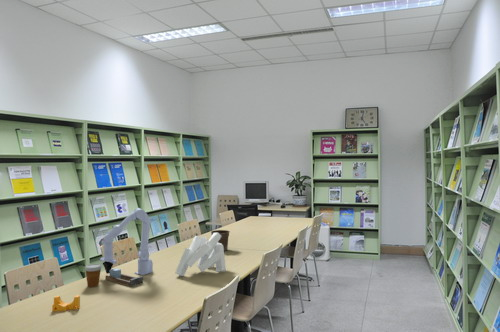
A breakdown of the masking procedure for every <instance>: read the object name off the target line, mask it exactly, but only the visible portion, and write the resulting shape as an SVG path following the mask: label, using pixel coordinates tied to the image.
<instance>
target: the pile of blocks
mask: <svg viewBox="0 0 500 332" xmlns="http://www.w3.org/2000/svg"><path fill="white" fill-rule="evenodd" d="M220 238H221V235H220V234H219V233H218V232H216V233H213V234H211V236H210V238H209V239H208V238H207V237H206V236H205V235H203V236H202V237H201V236H198V235H194V237H193V240H192V242H191V243H190V246H189V248H188V247H185V248H184V251H183V252H182V253H183V254H182V255H181V257H180V260H179V263H178V265H177V268H176V269H175V273H174V274H175V275H178V276H181V277H184V276H185V275H186V272H187V270H188V267H189V268H191V267H193V265H195V264H196V263H197V265H196V267H197V268H198V270H199V271H200V272H201V273H203V272H205V271H206V270H207V269H208V268H214V267H215V271H216V273H222V272H226V271H227V268H226V267H227V266H226V259H225V251H224V248H223V245H222V244H221V243H218V241H219V240H220ZM197 261H198V262H197Z"/></svg>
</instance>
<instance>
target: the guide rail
mask: <svg viewBox="0 0 500 332" xmlns="http://www.w3.org/2000/svg"><path fill="white" fill-rule="evenodd" d="M104 277H105V280H106V281H109V282H113V283H116V284H121V285H123V286H129V287H135V286H138V285H141V284H143V283H144V275H140V276H138V277H136V276H132V275H129V274H124V273H121V279H119V278H115V277H111V276H110V275H105V276H104Z"/></svg>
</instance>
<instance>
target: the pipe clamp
mask: <svg viewBox="0 0 500 332" xmlns="http://www.w3.org/2000/svg"><path fill="white" fill-rule="evenodd" d="M51 307H52V312H65V311H67V310H79V309H80V308H81V295H80V294H78V295H75V296H74V297H73V301H72V302H69V303H68V302H64V301H63V300H62V299H61V295H55V296H54V297H53V304H52V306H51Z"/></svg>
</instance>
